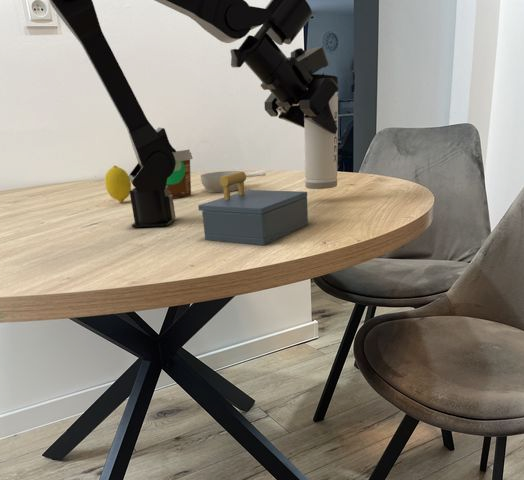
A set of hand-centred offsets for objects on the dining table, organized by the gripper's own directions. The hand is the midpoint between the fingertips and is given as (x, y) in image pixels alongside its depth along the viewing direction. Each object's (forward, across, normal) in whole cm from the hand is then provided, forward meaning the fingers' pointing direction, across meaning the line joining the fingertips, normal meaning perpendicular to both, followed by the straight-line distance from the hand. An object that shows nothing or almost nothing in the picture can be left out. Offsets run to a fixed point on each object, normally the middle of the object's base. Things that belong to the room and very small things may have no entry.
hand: (326, 131), depth 97 cm
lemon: (-15, +32, +34) cm, 49 cm away
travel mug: (+6, 0, +8) cm, 10 cm away
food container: (-8, +30, +27) cm, 41 cm away
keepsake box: (-7, -16, +25) cm, 31 cm away
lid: (-10, -16, +22) cm, 29 cm away
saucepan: (+3, +28, +15) cm, 32 cm away
